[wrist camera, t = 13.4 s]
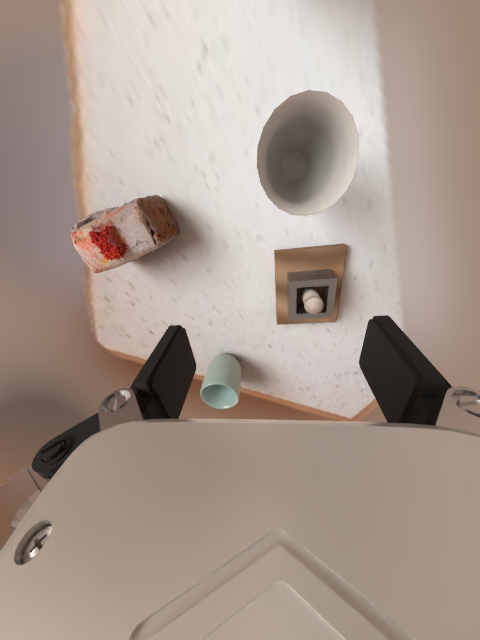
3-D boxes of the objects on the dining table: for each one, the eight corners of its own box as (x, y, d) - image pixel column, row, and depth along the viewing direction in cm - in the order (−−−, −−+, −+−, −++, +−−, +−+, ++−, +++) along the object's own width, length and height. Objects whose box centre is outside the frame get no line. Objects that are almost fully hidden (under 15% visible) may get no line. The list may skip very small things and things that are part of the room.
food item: (123, 264, 41) (87, 286, 32) (92, 221, 37) (43, 233, 29) (184, 235, 37) (161, 252, 29) (157, 184, 33) (122, 186, 25)
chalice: (322, 172, 30) (378, 168, 15) (281, 209, 33) (295, 235, 18) (291, 121, 28) (322, 54, 13) (250, 165, 31) (236, 153, 16)
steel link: (287, 272, 37) (289, 281, 34) (330, 268, 36) (337, 278, 32) (287, 308, 41) (289, 320, 37) (326, 306, 40) (332, 317, 36)
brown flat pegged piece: (274, 250, 37) (276, 267, 30) (343, 243, 35) (363, 260, 28) (276, 320, 44) (279, 347, 37) (334, 317, 42) (347, 345, 35)
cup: (222, 376, 55) (214, 412, 46) (204, 356, 51) (192, 390, 43) (249, 366, 52) (246, 403, 44) (231, 344, 49) (224, 378, 40)
